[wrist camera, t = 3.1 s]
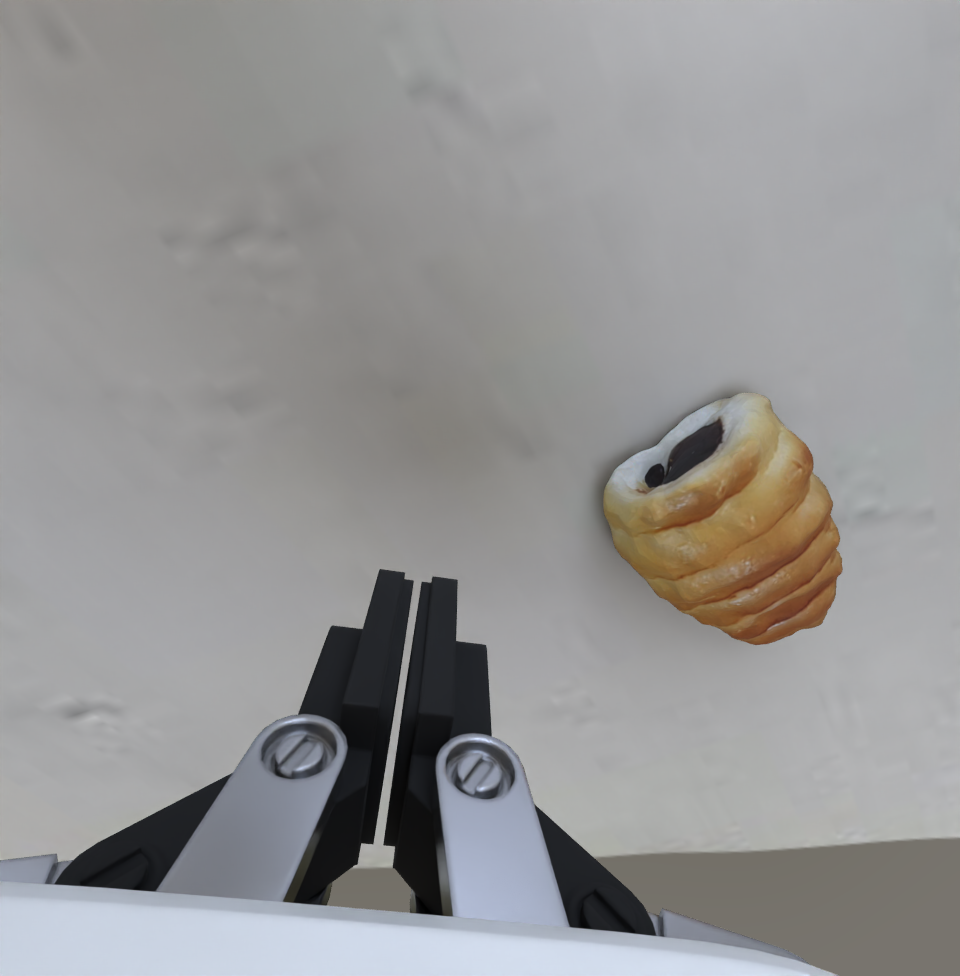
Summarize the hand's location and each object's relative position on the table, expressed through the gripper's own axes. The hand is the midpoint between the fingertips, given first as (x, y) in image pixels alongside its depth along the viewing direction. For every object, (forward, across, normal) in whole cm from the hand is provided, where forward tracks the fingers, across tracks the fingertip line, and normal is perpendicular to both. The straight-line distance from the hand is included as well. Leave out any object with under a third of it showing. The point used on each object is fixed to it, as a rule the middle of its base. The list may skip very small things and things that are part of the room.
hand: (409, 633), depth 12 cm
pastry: (+9, -10, -1) cm, 14 cm away
